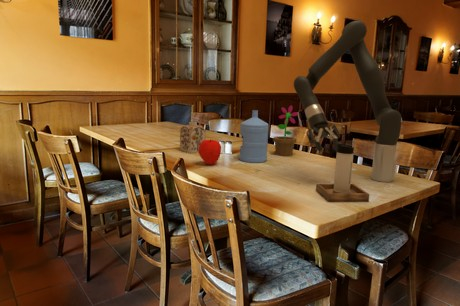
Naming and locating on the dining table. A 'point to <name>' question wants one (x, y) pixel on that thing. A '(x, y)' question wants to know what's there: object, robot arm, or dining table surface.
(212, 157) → the apple
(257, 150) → the water jug
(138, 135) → the dining table surface
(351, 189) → the tray
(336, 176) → the travel mug
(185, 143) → the decorative jar
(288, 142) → the flowerpot
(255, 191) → the dining table surface
